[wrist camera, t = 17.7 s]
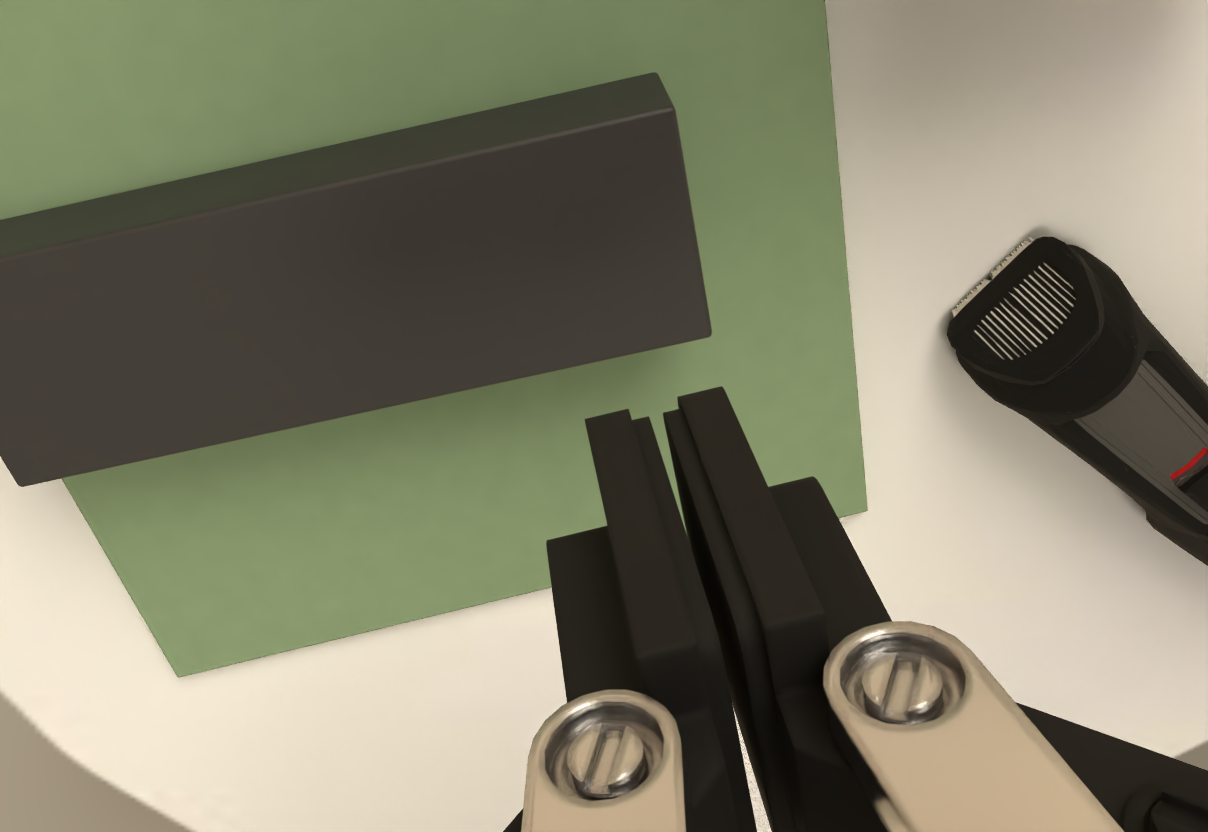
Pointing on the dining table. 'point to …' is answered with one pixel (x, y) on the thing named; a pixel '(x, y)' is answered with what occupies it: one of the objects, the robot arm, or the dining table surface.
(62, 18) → the mat
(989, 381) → the electric trimmer
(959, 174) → the dining table surface
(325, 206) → the dark grey rectangular brick
